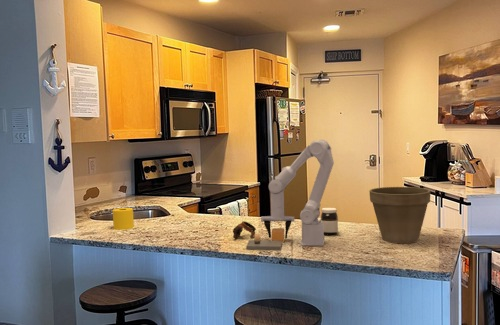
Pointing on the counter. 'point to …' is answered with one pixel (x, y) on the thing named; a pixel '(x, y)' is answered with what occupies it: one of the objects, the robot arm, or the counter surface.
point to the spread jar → (329, 221)
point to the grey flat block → (263, 244)
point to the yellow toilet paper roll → (123, 218)
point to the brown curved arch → (246, 226)
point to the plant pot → (400, 212)
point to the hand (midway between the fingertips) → (278, 237)
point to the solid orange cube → (278, 234)
